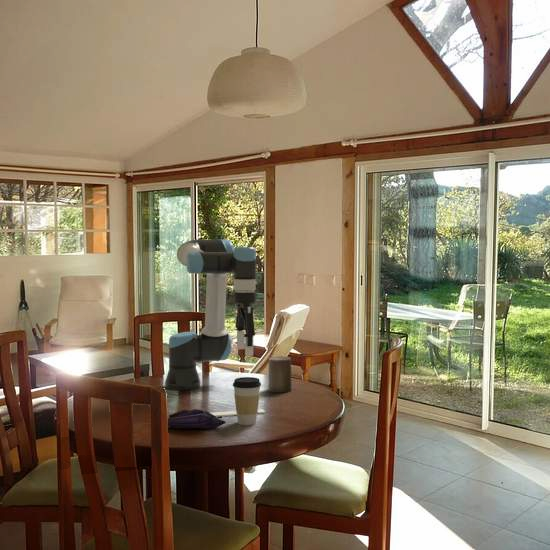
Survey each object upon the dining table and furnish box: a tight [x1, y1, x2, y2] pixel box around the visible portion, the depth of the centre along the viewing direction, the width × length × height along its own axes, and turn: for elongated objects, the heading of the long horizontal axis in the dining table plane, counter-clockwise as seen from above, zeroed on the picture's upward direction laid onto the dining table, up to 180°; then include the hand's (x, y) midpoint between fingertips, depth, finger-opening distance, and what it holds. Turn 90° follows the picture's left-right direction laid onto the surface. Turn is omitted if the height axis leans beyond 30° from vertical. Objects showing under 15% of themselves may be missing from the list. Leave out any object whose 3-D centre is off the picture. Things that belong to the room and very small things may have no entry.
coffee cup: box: [232, 376, 262, 426], centre depth 213 cm, size 10×10×15 cm
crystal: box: [167, 408, 226, 430], centre depth 207 cm, size 7×12×20 cm
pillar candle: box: [268, 355, 292, 393], centre depth 261 cm, size 10×10×15 cm
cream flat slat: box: [210, 408, 266, 418], centre depth 223 cm, size 4×24×1 cm, turn 105°
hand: (244, 352), depth 215 cm, fingers open, 13 cm apart
